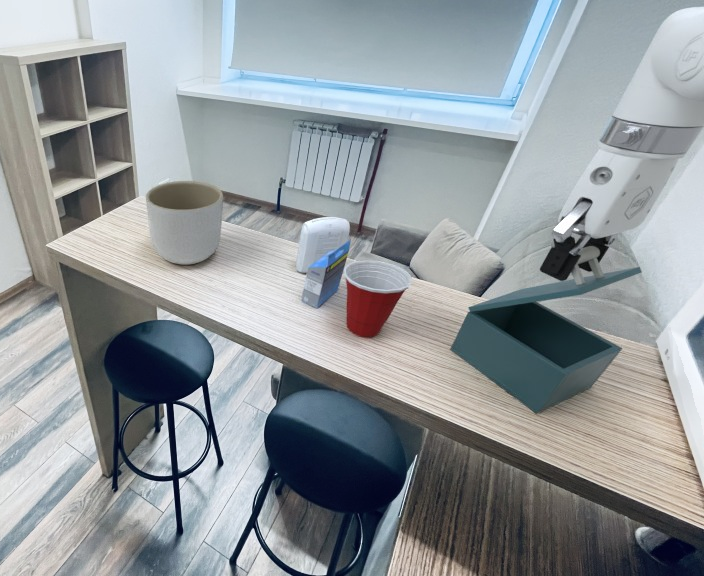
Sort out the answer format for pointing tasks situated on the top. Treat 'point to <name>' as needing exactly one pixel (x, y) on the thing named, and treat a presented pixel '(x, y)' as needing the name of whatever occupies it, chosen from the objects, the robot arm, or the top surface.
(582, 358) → the chest
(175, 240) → the planter
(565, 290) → the lid
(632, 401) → the top surface
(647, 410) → the top surface
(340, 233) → the photo printer
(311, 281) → the label tape box
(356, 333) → the plastic cup
